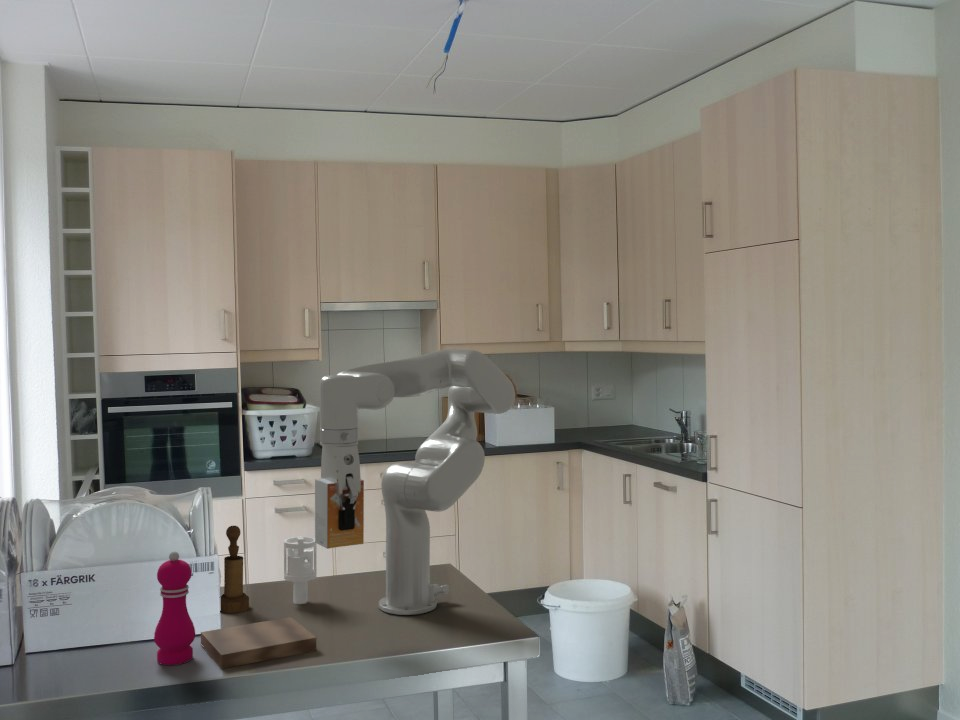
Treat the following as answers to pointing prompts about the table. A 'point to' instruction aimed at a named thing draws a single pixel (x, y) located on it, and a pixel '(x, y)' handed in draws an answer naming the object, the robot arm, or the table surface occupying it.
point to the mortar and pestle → (233, 577)
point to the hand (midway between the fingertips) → (339, 525)
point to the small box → (336, 517)
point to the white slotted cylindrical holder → (299, 565)
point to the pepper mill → (174, 613)
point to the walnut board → (257, 642)
